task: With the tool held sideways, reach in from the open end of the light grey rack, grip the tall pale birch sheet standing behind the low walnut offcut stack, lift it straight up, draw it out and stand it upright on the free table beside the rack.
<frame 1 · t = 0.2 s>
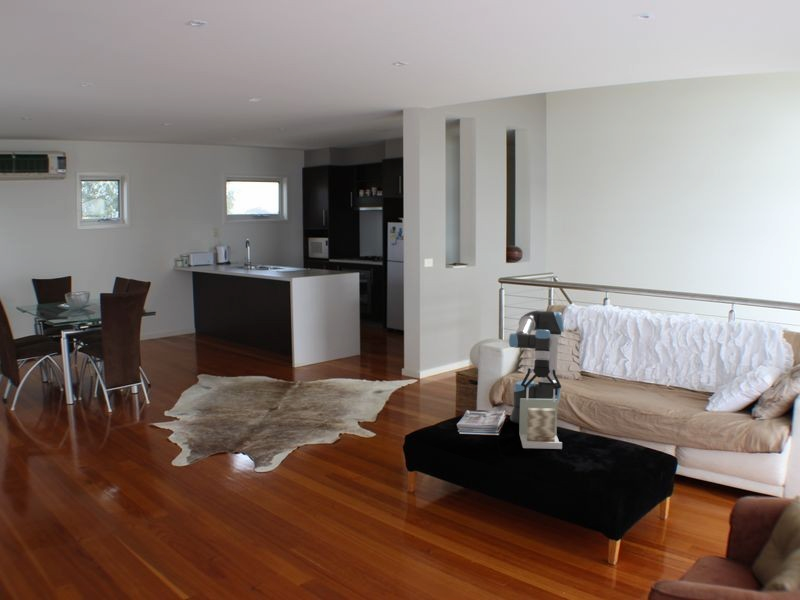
hand: (540, 401, 366), 27 cm above the table, tool tilted 15°, fingers open, 13 cm apart
tall sheet: (540, 441, 380), point 1 cm above the table, touching rack
offcut slab low: (543, 445, 375), point 1 cm above the table, touching offcut slab top, rack
offcut slab top: (545, 441, 374), point 3 cm above the table, touching offcut slab low
rack: (540, 443, 380), on the table
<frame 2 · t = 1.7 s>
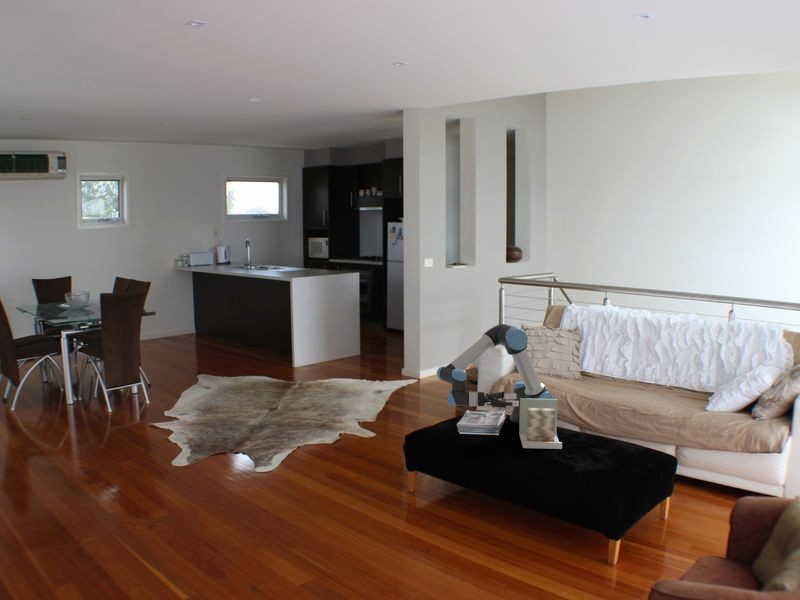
hand: (517, 399, 377), 24 cm above the table, tool horizontal, fingers open, 13 cm apart
nothing on the table moved.
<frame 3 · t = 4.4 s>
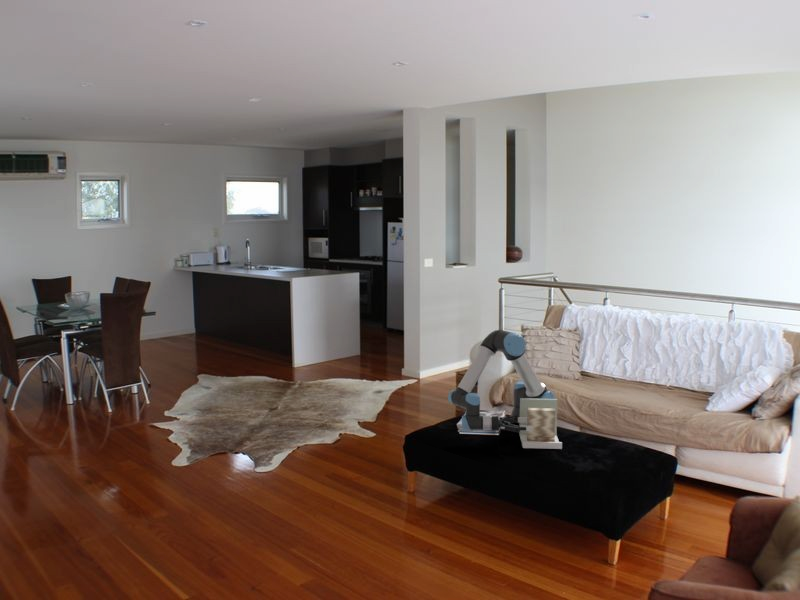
hand: (531, 424, 378), 11 cm above the table, tool horizontal, fingers open, 13 cm apart
nothing on the table moved.
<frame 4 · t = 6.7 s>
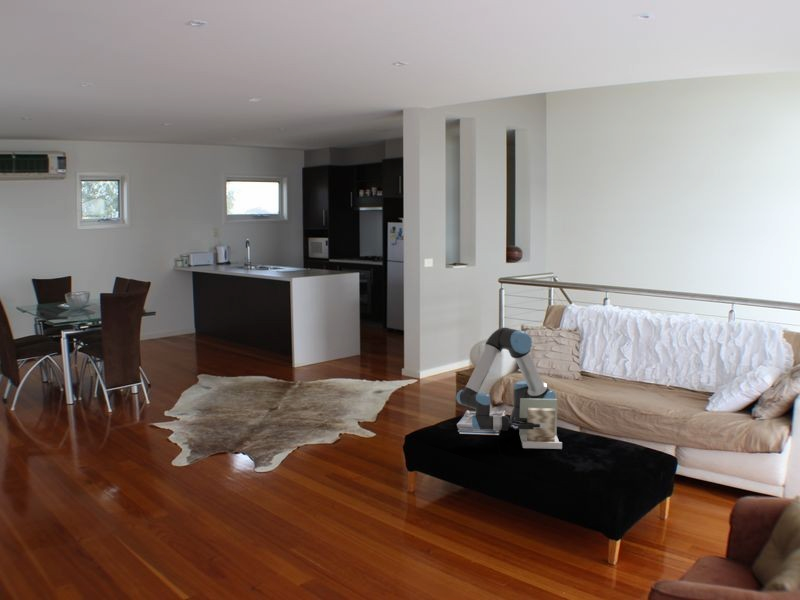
hand: (545, 423, 378), 11 cm above the table, tool horizontal, fingers closed on tall sheet, 4 cm apart
tall sheet: (540, 441, 380), point 1 cm above the table, touching gripper, rack
everything else where it was.
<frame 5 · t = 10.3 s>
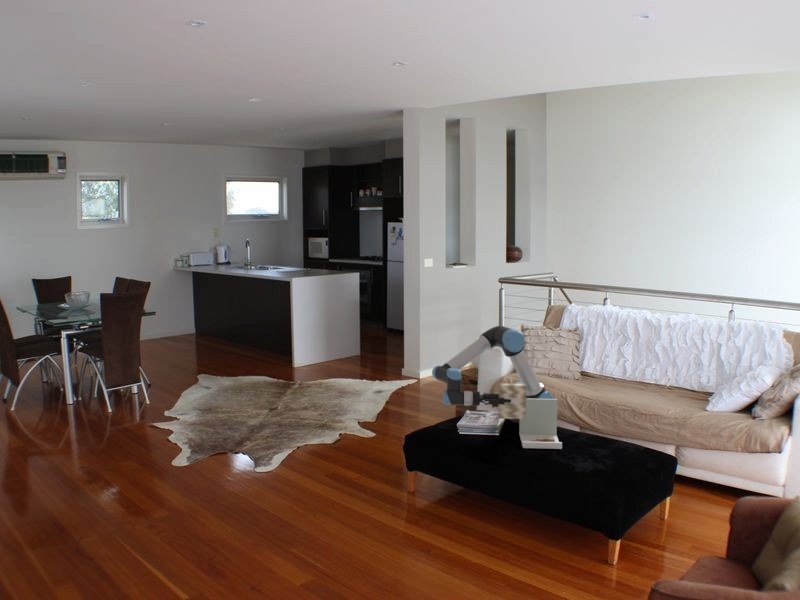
hand: (516, 399, 377), 24 cm above the table, tool horizontal, fingers closed on tall sheet, 4 cm apart
tall sheet: (511, 417, 378), point 14 cm above the table, touching gripper
everything else where it was.
when the fingers open (11 cm above the table, at t = 14.1 s): tall sheet drops 1 cm, on the table.
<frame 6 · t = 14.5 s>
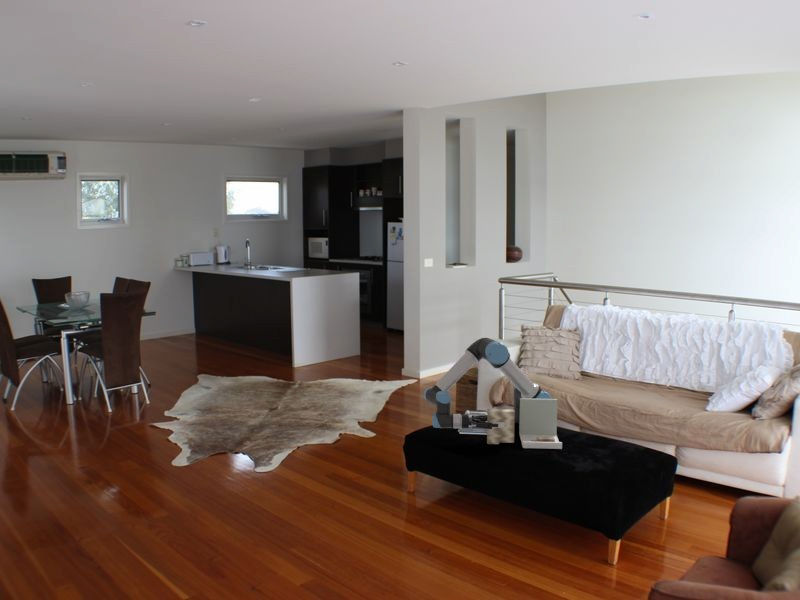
hand: (503, 422, 380), 11 cm above the table, tool horizontal, fingers open, 9 cm apart
tall sheet: (500, 442, 382), on the table
everything else where it was.
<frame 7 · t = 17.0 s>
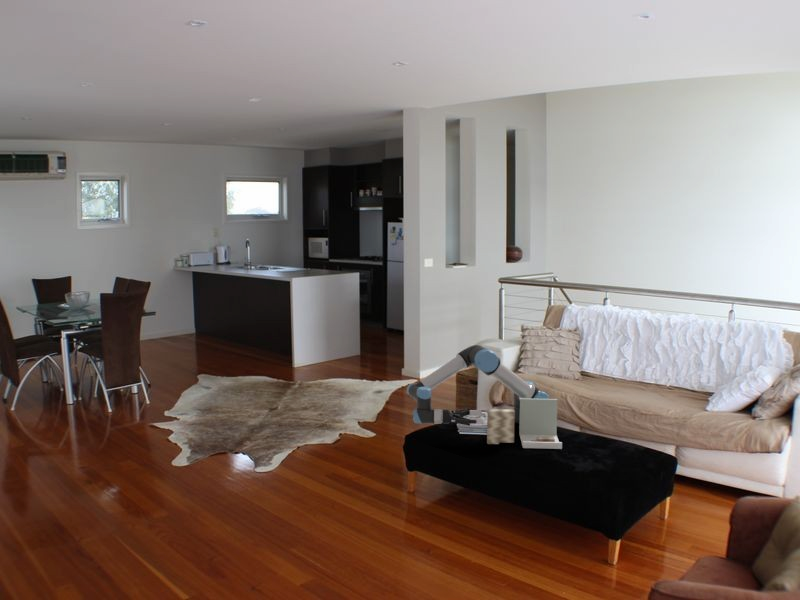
hand: (482, 417, 380), 14 cm above the table, tool horizontal, fingers open, 13 cm apart
nothing on the table moved.
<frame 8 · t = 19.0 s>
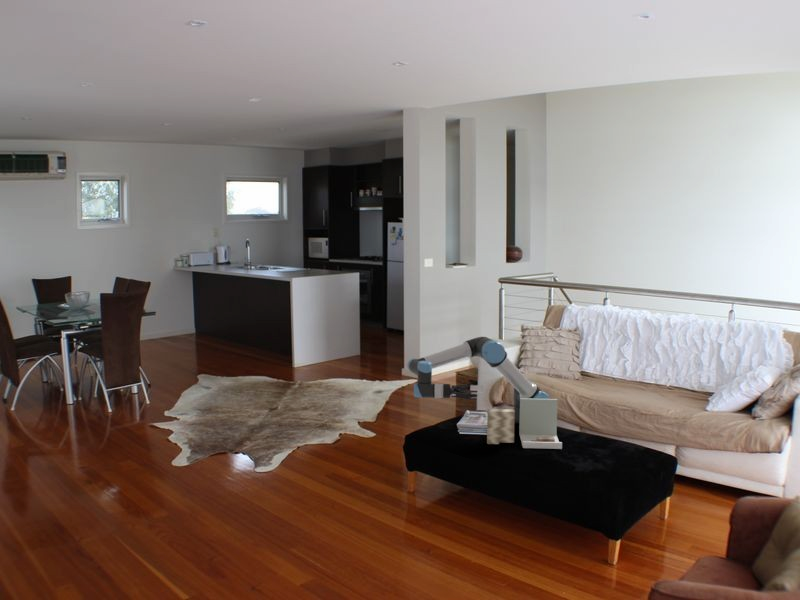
hand: (483, 391, 378), 28 cm above the table, tool horizontal, fingers open, 13 cm apart
nothing on the table moved.
at the end: tall sheet inside the target area (0.0 cm from its centre), on the table; tall sheet tilted 0°; offcut slab top moved 0.0 cm from its start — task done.
